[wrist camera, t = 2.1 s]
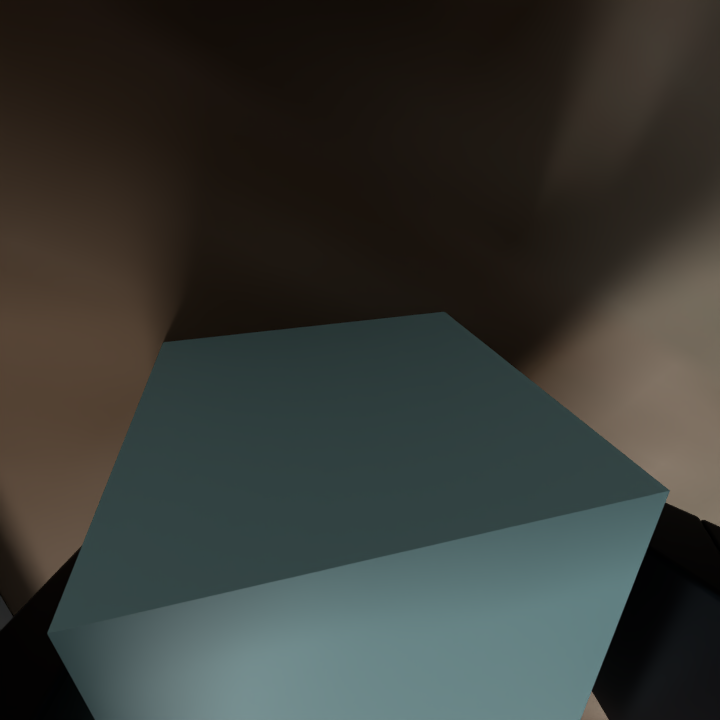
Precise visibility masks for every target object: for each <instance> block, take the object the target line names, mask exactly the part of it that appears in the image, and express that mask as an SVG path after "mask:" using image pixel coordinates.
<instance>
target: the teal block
mask: <svg viewBox="0 0 720 720" xmlns="http://www.w3.org/2000/svg"><path fill="white" fill-rule="evenodd" d="M669 491H670V490H668V489H667V488H666V487H665V486H663V485H662V484H661V483H660V482H658V481H657V480H656V479H654V478H653V477H652V476H651V475H649V474H648V473H647V472H646V471H644V470H643V469H642V468H641V467H639V466H638V465H637V464H636V463H634V462H633V461H632V460H631V459H629V458H628V457H627V456H626V455H624V454H623V453H622V452H620V451H619V450H618V449H617V448H615V447H614V446H613V445H612V444H610V443H609V442H608V441H607V440H605V439H604V438H603V437H602V436H600V435H599V434H598V433H597V432H595V431H594V430H593V429H592V428H590V427H589V426H588V425H586V424H585V423H584V422H583V421H581V420H580V419H579V418H578V417H576V416H575V415H574V414H573V413H571V412H570V411H569V410H568V409H566V408H565V407H564V406H563V405H561V404H560V403H559V402H558V401H556V400H555V399H554V398H552V397H551V396H550V395H549V394H547V393H546V392H545V391H544V390H542V389H541V388H540V387H539V386H537V385H536V384H535V383H534V382H532V381H531V380H530V379H529V378H527V377H526V376H525V375H523V374H522V373H521V372H520V371H518V370H517V369H516V368H515V367H513V366H512V365H511V364H510V363H508V362H507V361H506V360H505V359H503V358H502V357H501V356H500V355H498V354H497V353H496V352H495V351H493V350H492V349H491V348H489V347H488V346H487V345H486V344H484V343H483V342H482V341H481V340H479V339H478V338H477V337H476V336H474V335H473V334H472V333H471V332H469V331H468V330H467V329H466V328H464V327H463V326H462V325H461V324H459V323H458V322H457V321H455V320H454V319H453V318H452V317H450V316H449V315H448V314H447V313H445V312H437V313H428V314H419V315H409V316H400V317H391V318H382V319H373V320H363V321H354V322H345V323H336V324H327V325H318V326H308V327H299V328H290V329H281V330H272V331H263V332H253V333H244V334H235V335H226V336H217V337H208V338H198V339H189V340H180V341H171V342H163V344H162V347H161V349H160V352H159V354H158V357H157V359H156V362H155V364H154V367H153V369H152V372H151V374H150V377H149V379H148V382H147V384H146V387H145V389H144V392H143V394H142V397H141V399H140V402H139V404H138V407H137V409H136V412H135V414H134V417H133V419H132V422H131V424H130V427H129V429H128V432H127V434H126V437H125V439H124V442H123V445H122V447H121V450H120V452H119V455H118V457H117V460H116V462H115V465H114V467H113V470H112V472H111V475H110V477H109V480H108V482H107V485H106V487H105V490H104V492H103V495H102V497H101V500H100V502H99V505H98V507H97V510H96V512H95V515H94V517H93V520H92V522H91V525H90V527H89V530H88V532H87V535H86V537H85V540H84V542H83V545H82V547H81V550H80V552H79V555H78V557H77V560H76V562H75V565H74V568H73V570H72V573H71V575H70V578H69V580H68V583H67V585H66V588H65V590H64V593H63V595H62V598H61V600H60V603H59V605H58V608H57V610H56V613H55V615H54V618H53V620H52V623H51V625H50V628H49V630H48V633H47V634H48V636H49V638H50V640H51V641H52V643H53V645H54V647H55V649H56V650H57V652H58V654H59V656H60V658H61V659H62V661H63V663H64V665H65V667H66V668H67V670H68V672H69V674H70V676H71V677H72V679H73V681H74V683H75V685H76V686H77V688H78V690H79V692H80V694H81V695H82V697H83V699H84V701H85V703H86V704H87V706H88V708H89V710H90V712H91V713H92V715H93V717H94V719H95V720H580V719H581V717H582V714H583V712H584V709H585V706H586V704H587V701H588V699H589V696H590V694H591V691H592V688H593V686H594V683H595V681H596V678H597V676H598V673H599V671H600V668H601V665H602V663H603V660H604V658H605V655H606V653H607V650H608V648H609V645H610V642H611V640H612V637H613V635H614V632H615V630H616V627H617V624H618V622H619V619H620V617H621V614H622V612H623V609H624V607H625V604H626V601H627V599H628V596H629V594H630V591H631V589H632V586H633V584H634V581H635V578H636V576H637V573H638V571H639V568H640V566H641V563H642V561H643V558H644V555H645V553H646V550H647V548H648V545H649V543H650V540H651V537H652V535H653V532H654V530H655V527H656V525H657V522H658V520H659V517H660V514H661V512H662V509H663V507H664V504H665V502H666V499H667V497H668V494H669Z"/></svg>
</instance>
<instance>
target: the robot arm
mask: <svg viewBox="0 0 720 720" xmlns="http://www.w3.org/2000/svg"><path fill="white" fill-rule="evenodd" d="M81 547H82V546H81ZM81 547H80V548H79V549H78V550H77V551H76V552H75V553H74V554H73V555H72V556H71V557H70V558H69V559H68V561H67V562H66V563H65V564H64V565H63V566H62V567H61V568H60V569H59V570H58V571H57V572H56V573H55V574H54V575H53V576H52V577H51V578H50V579H49V580H48V581H47V582H46V583H45V584H44V586H43V587H42V588H41V589H40V590H39V591H38V592H37V593H36V594H35V595H34V596H33V597H32V598H31V599H30V600H29V601H28V602H27V603H26V604H25V605H24V606H23V607H22V608H21V609H20V611H19V612H18V613H17V614H16V615H15V616H14V617H13V618H12V619H11V620H10V621H9V622H8V623H7V624H6V625H5V626H4V627H3V628H2V629H1V630H0V720H95V719H94V717H93V715H92V713H91V712H90V710H89V708H88V706H87V704H86V703H85V701H84V699H83V697H82V695H81V694H80V692H79V690H78V688H77V686H76V685H75V683H74V681H73V679H72V677H71V676H70V674H69V672H68V670H67V668H66V667H65V665H64V663H63V661H62V659H61V658H60V656H59V654H58V652H57V650H56V649H55V647H54V645H53V643H52V641H51V640H50V638H49V636H48V634H47V633H48V630H49V628H50V625H51V623H52V620H53V618H54V615H55V613H56V610H57V608H58V605H59V603H60V600H61V598H62V595H63V593H64V590H65V588H66V585H67V583H68V580H69V578H70V575H71V573H72V570H73V568H74V565H75V562H76V560H77V557H78V555H79V552H80V550H81ZM592 692H593V694H594V695H595V697H596V699H597V700H598V702H599V704H600V705H601V707H602V709H603V711H604V712H605V714H606V716H607V717H608V719H609V720H720V527H719V526H717V525H715V524H713V523H710V522H708V521H706V520H701V521H700V519H699V518H698V517H697V516H695V515H692V514H690V513H688V512H686V511H683V510H681V509H679V508H677V507H674V506H672V505H670V504H668V503H665V504H664V507H663V509H662V512H661V514H660V517H659V520H658V522H657V525H656V527H655V530H654V532H653V535H652V537H651V540H650V543H649V545H648V548H647V550H646V553H645V555H644V558H643V561H642V563H641V566H640V568H639V571H638V573H637V576H636V578H635V581H634V584H633V586H632V589H631V591H630V594H629V596H628V599H627V601H626V604H625V607H624V609H623V612H622V614H621V617H620V619H619V622H618V624H617V627H616V630H615V632H614V635H613V637H612V640H611V642H610V645H609V648H608V650H607V653H606V655H605V658H604V660H603V663H602V665H601V668H600V671H599V673H598V676H597V678H596V681H595V683H594V686H593V688H592Z"/></svg>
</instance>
